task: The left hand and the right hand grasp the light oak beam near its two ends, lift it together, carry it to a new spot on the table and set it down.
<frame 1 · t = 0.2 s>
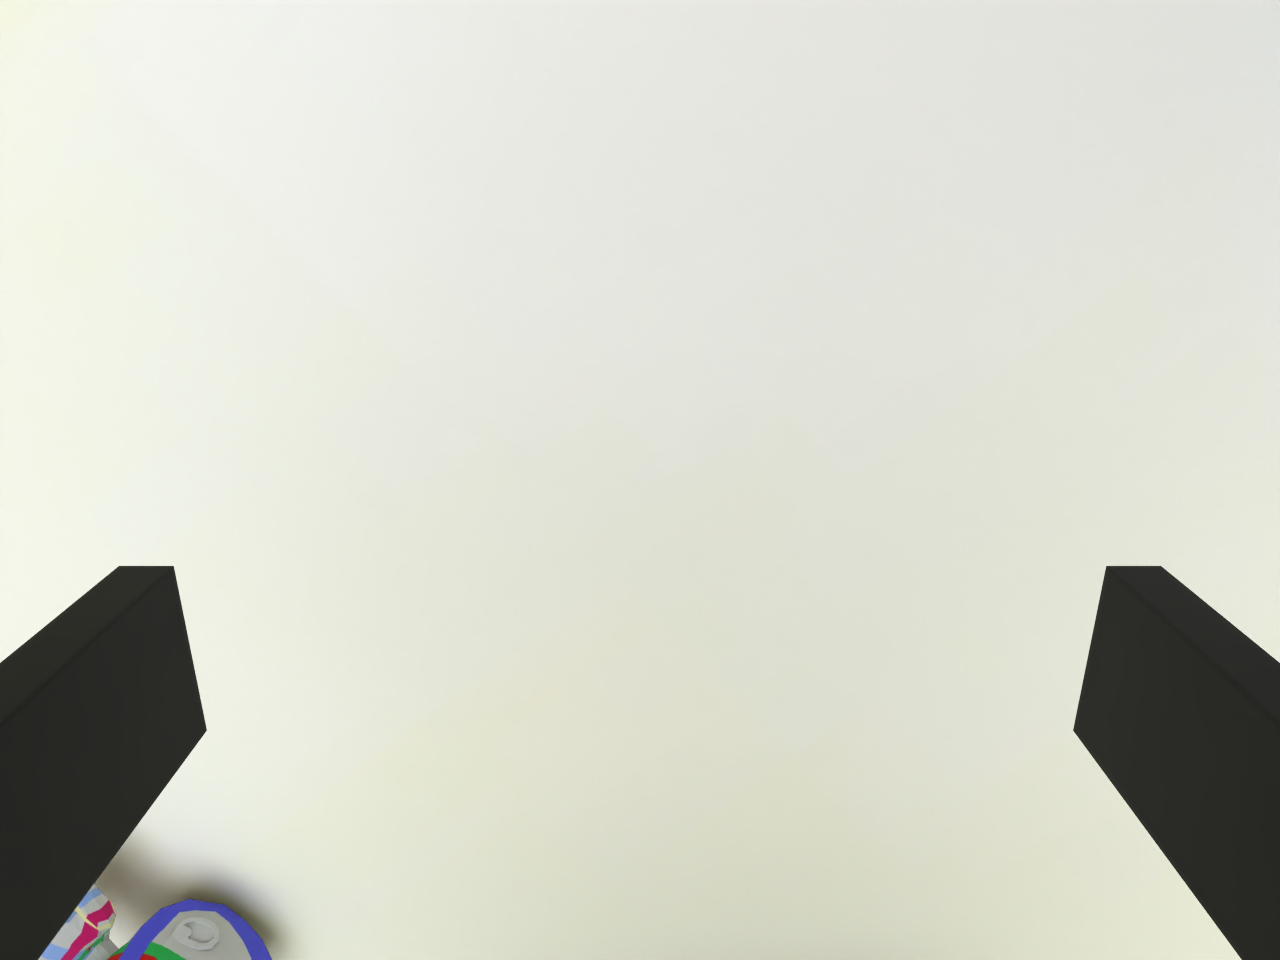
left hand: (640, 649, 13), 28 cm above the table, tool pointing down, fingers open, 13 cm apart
toy: (34, 830, 49), on the table
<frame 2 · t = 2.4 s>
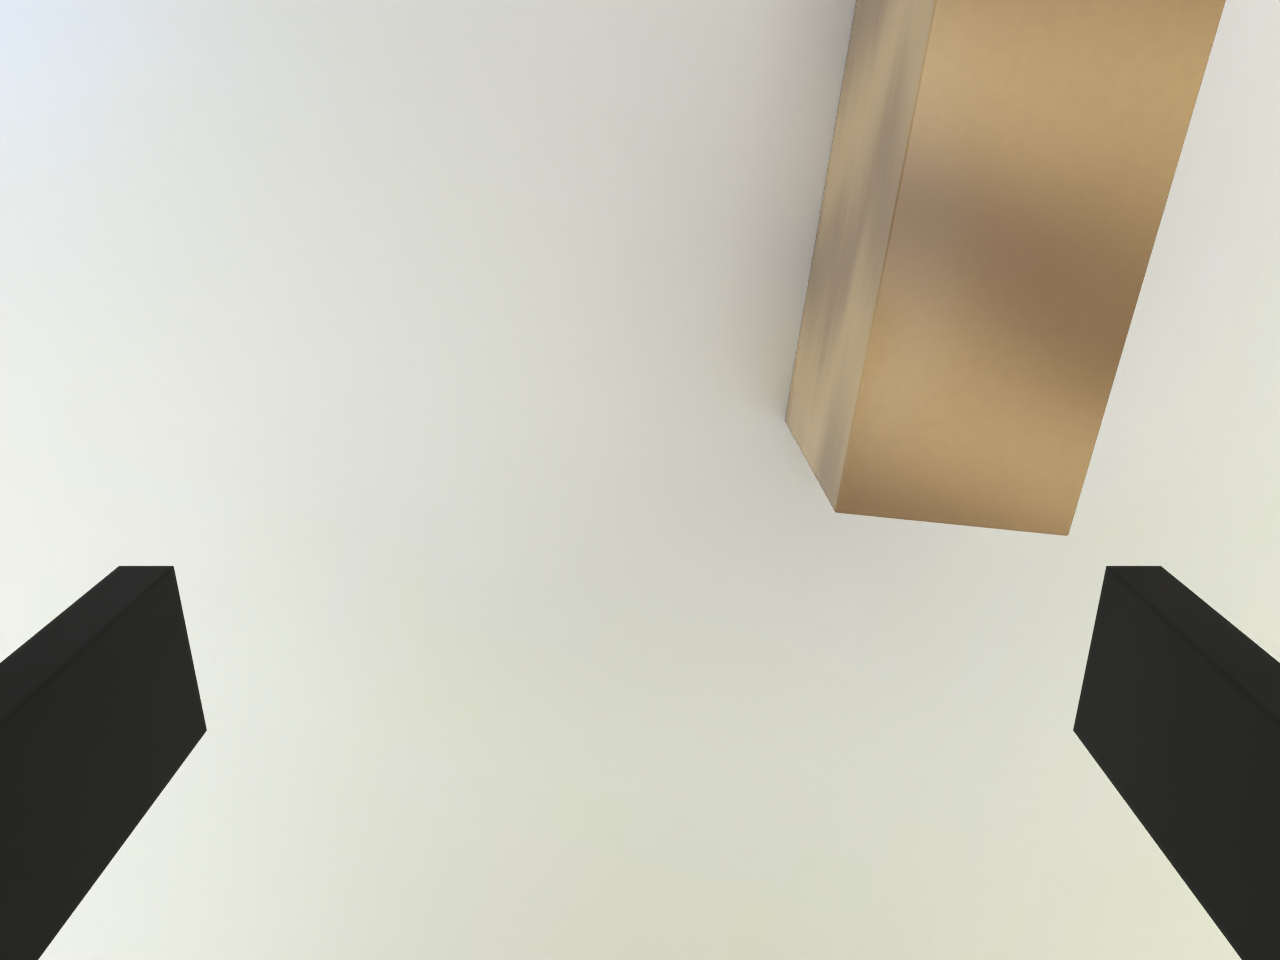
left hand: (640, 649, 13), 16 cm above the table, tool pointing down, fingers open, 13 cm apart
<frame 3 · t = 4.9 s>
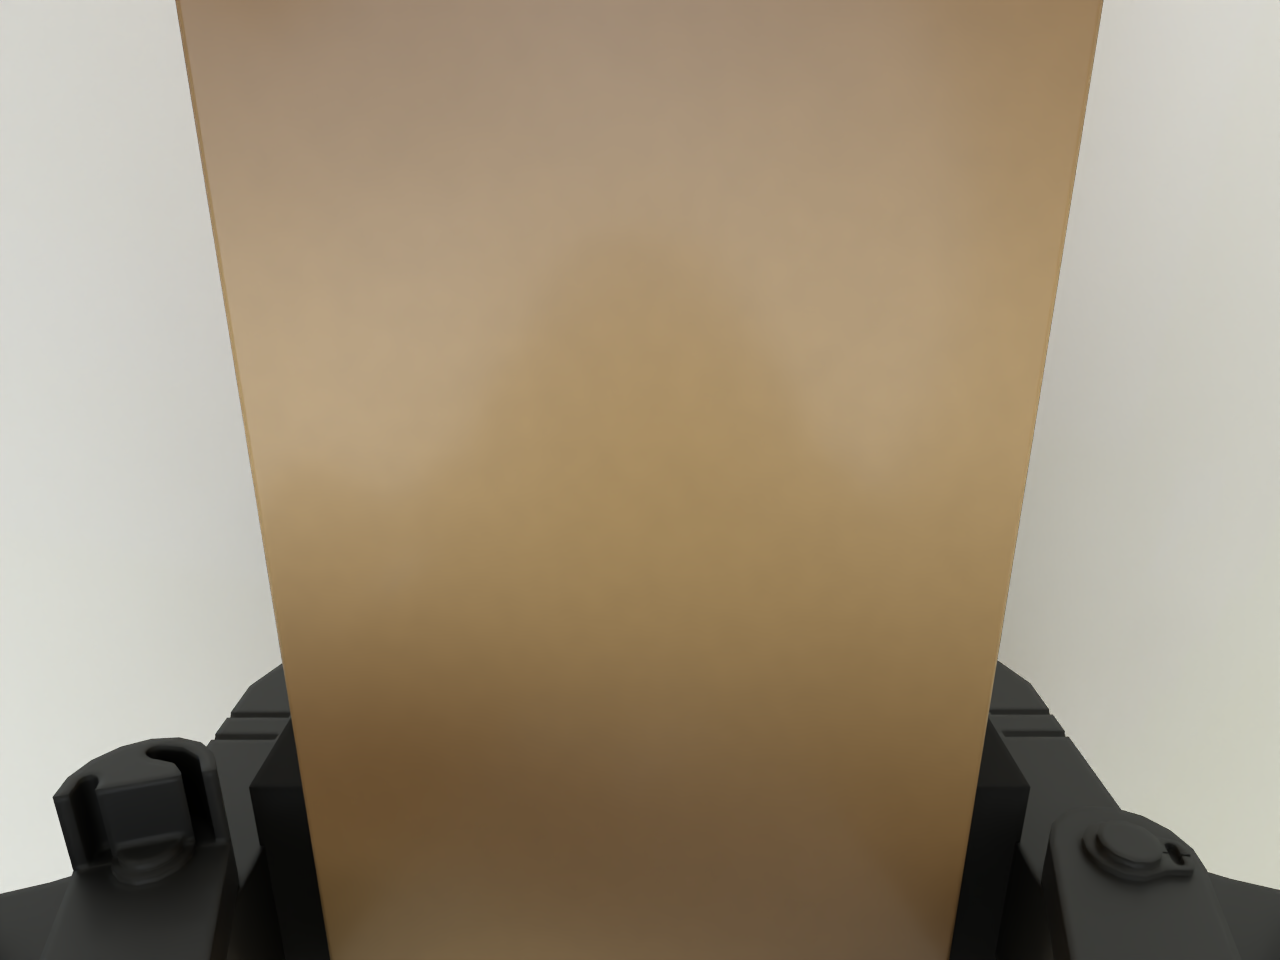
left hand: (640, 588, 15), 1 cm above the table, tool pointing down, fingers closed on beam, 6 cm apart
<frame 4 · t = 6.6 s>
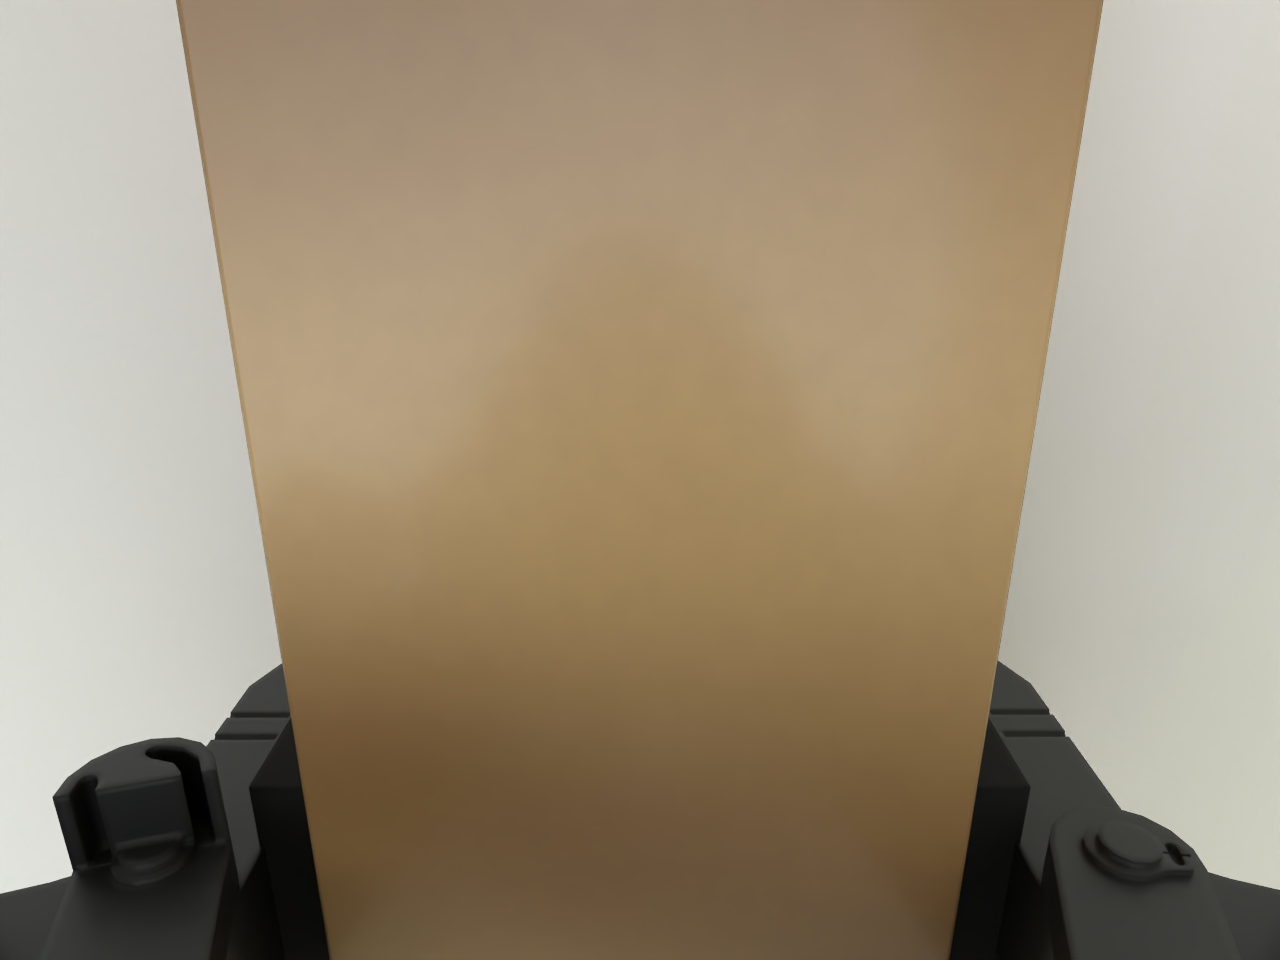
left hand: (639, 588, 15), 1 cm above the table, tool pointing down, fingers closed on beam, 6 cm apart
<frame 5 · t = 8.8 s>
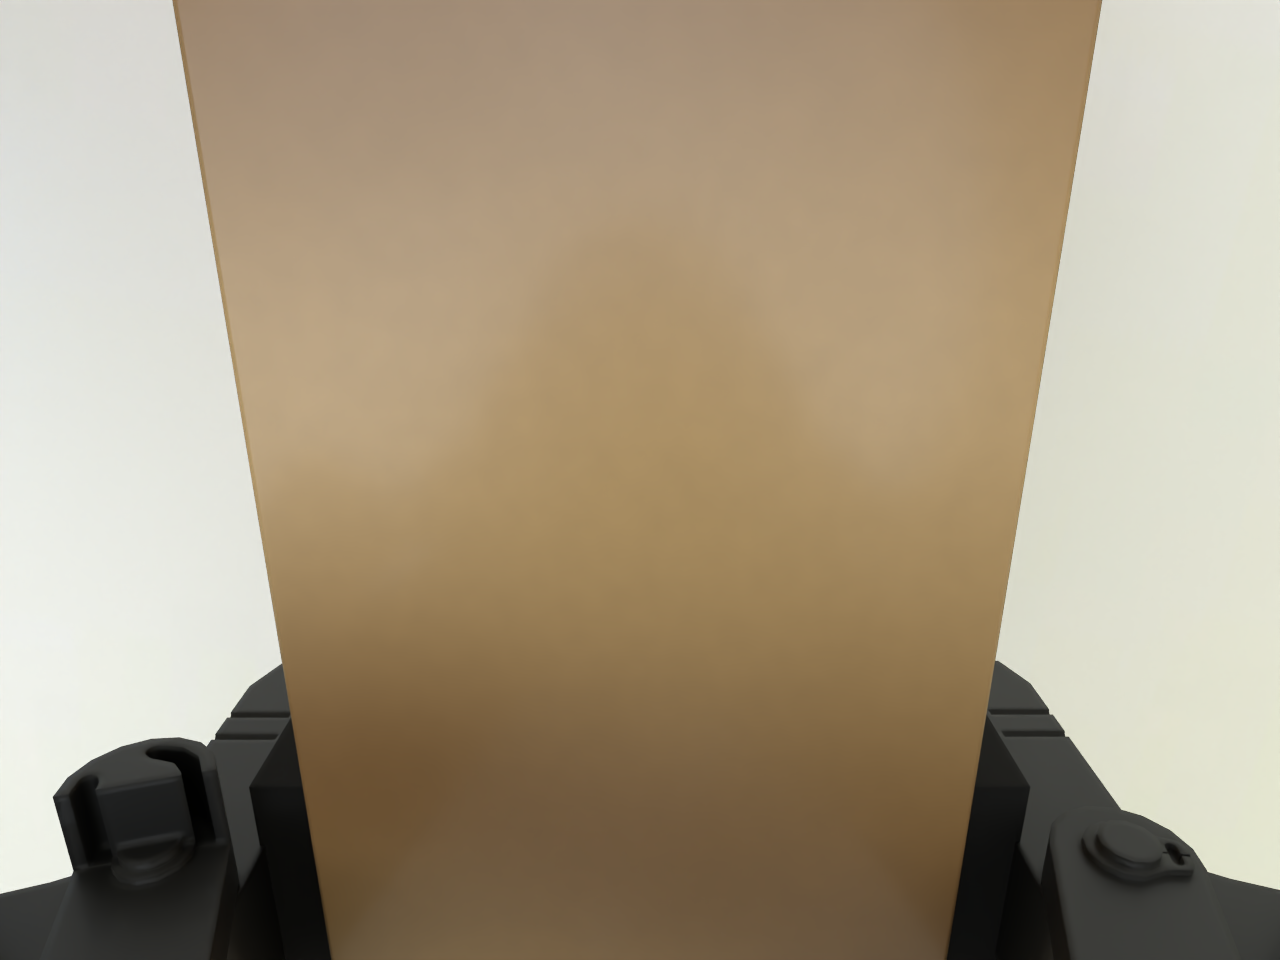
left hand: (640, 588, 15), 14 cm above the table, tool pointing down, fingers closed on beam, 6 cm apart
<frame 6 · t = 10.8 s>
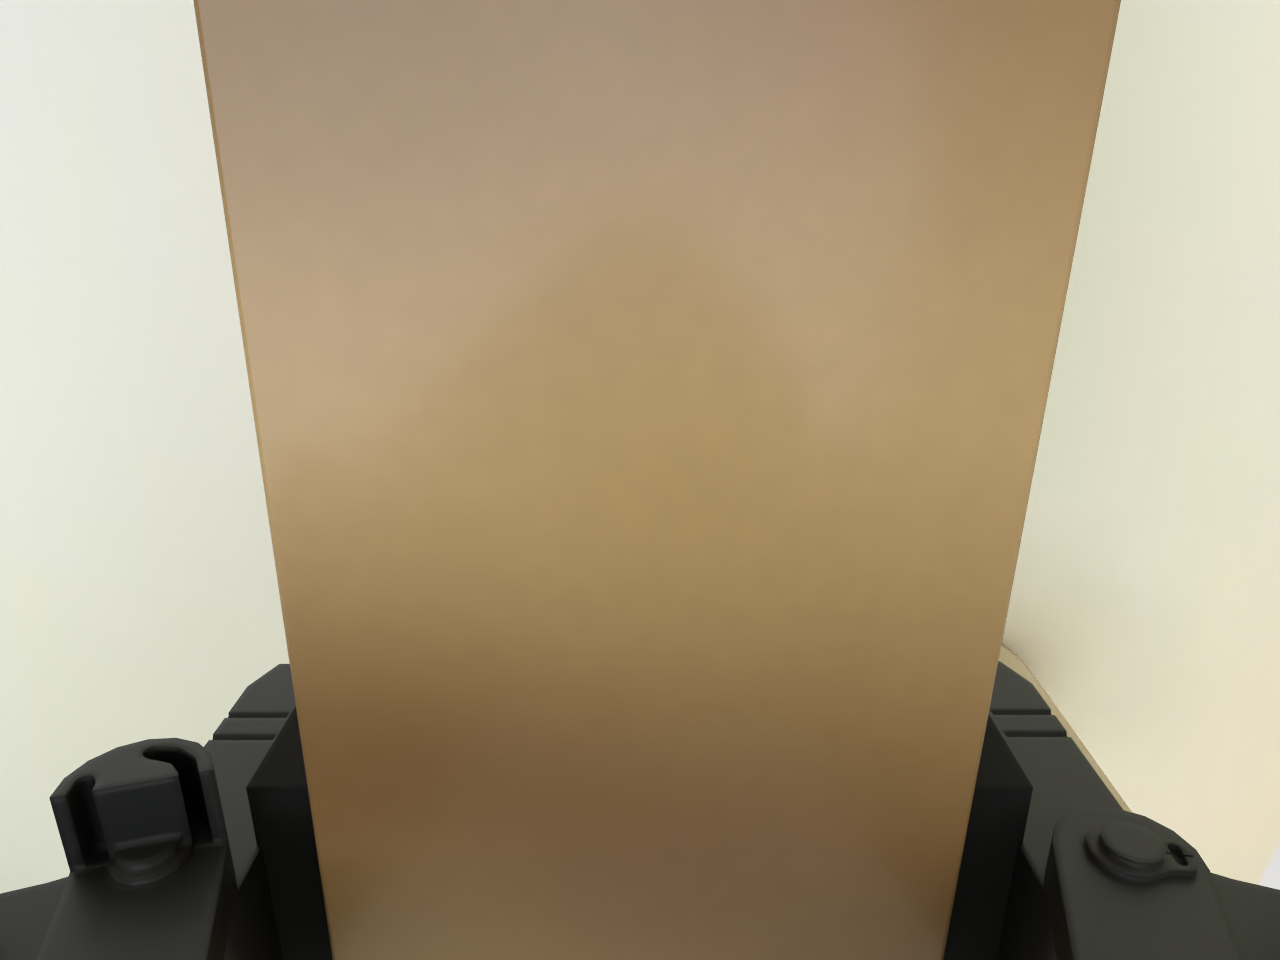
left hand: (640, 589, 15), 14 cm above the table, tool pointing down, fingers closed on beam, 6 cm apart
candle: (953, 698, 32), on the table
when the left hand's fingers open (2 cm above the table, at t = 12.8 s): beam drops 1 cm, on the table.
when the right hand's fingers open (4 cm above the table, at t = 12.9 s): beam stays where it is, on the table.
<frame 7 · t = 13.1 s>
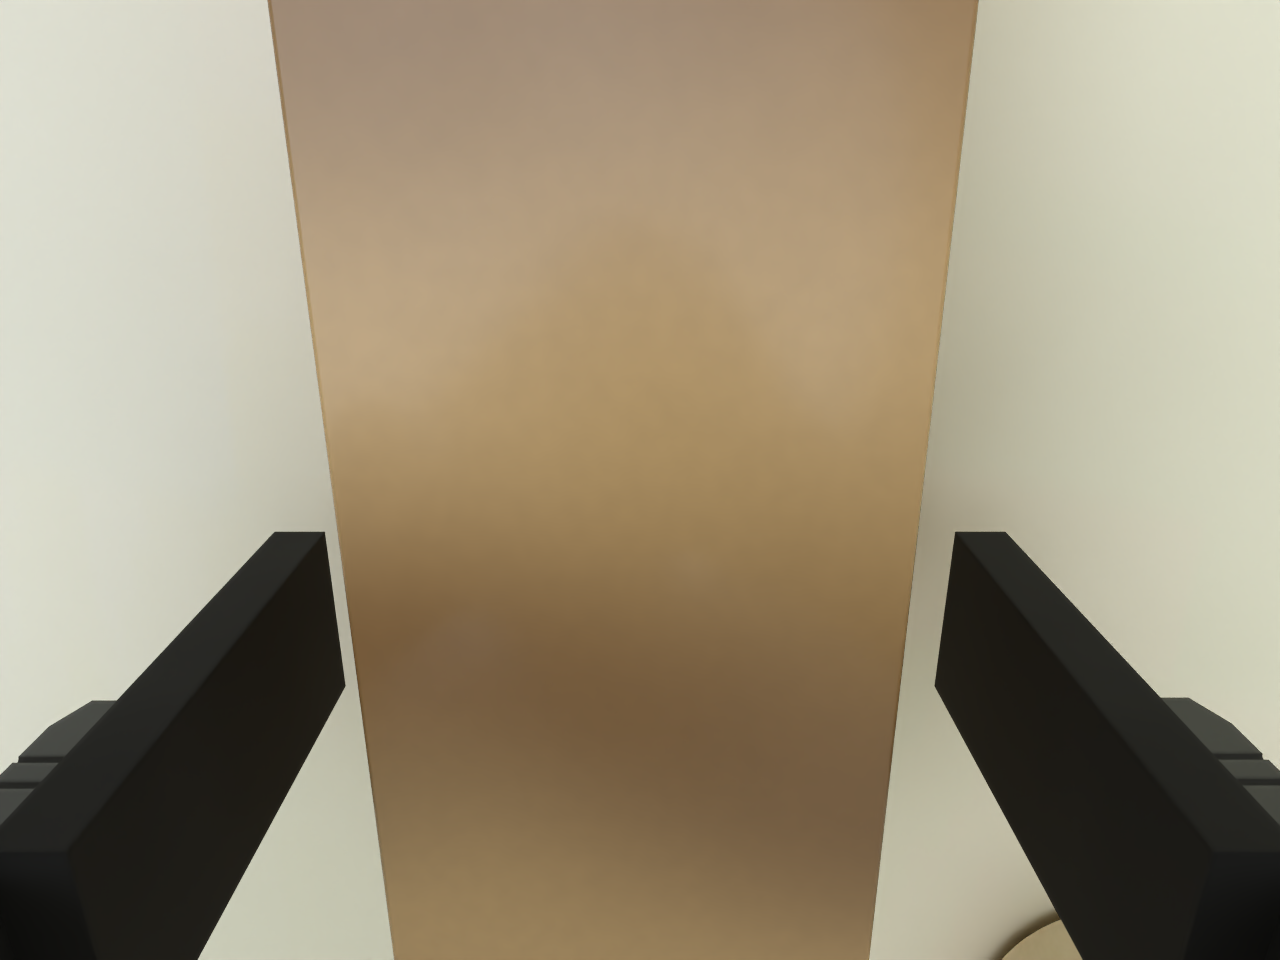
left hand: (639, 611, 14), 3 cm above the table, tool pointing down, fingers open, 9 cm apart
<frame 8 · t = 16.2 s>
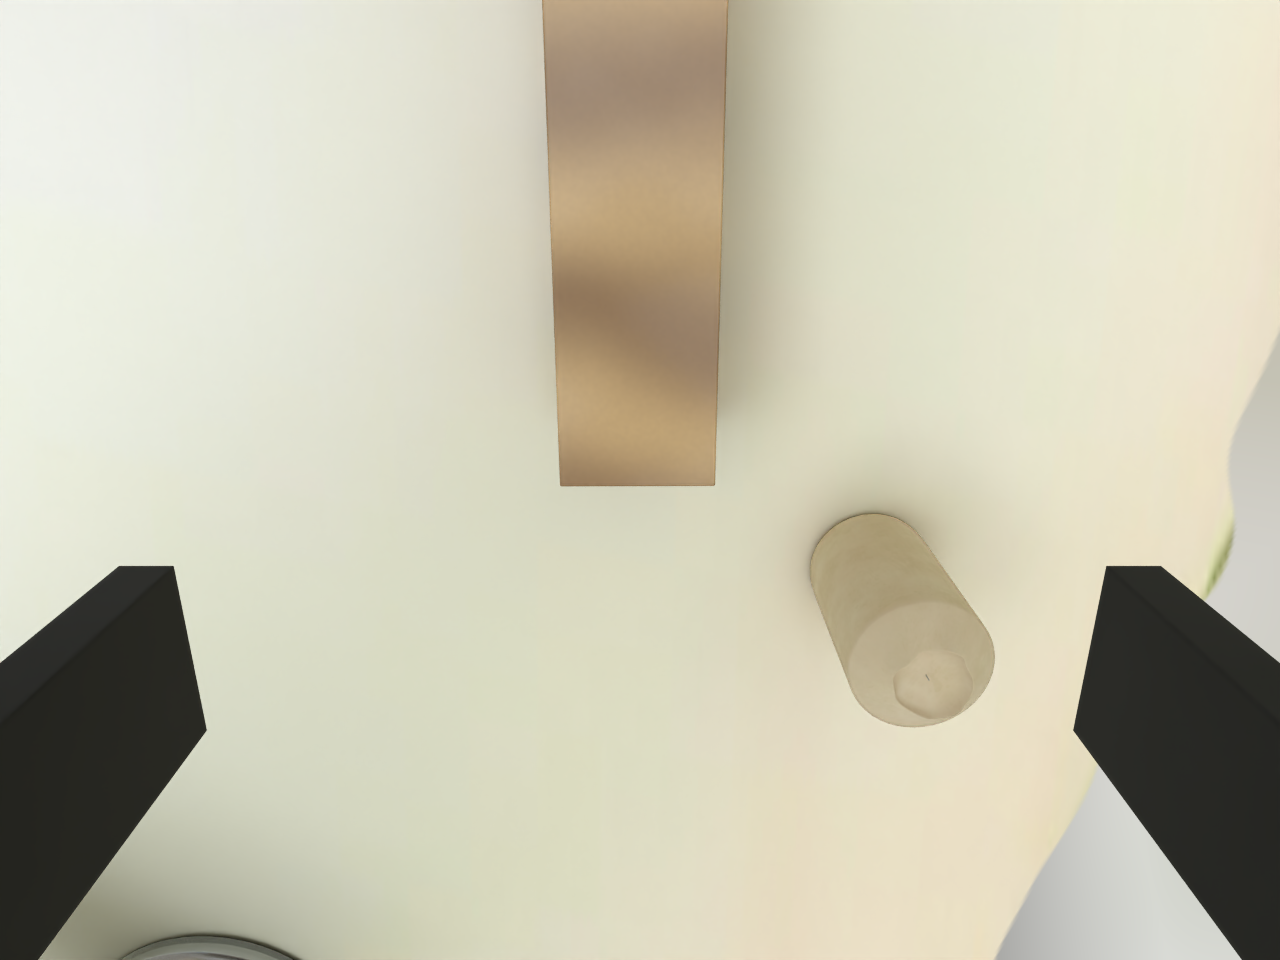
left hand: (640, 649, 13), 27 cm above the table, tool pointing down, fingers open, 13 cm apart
candle: (866, 564, 42), on the table
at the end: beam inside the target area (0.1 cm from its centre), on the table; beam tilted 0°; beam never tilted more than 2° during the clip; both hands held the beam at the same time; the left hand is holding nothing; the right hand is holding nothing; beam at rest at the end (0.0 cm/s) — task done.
